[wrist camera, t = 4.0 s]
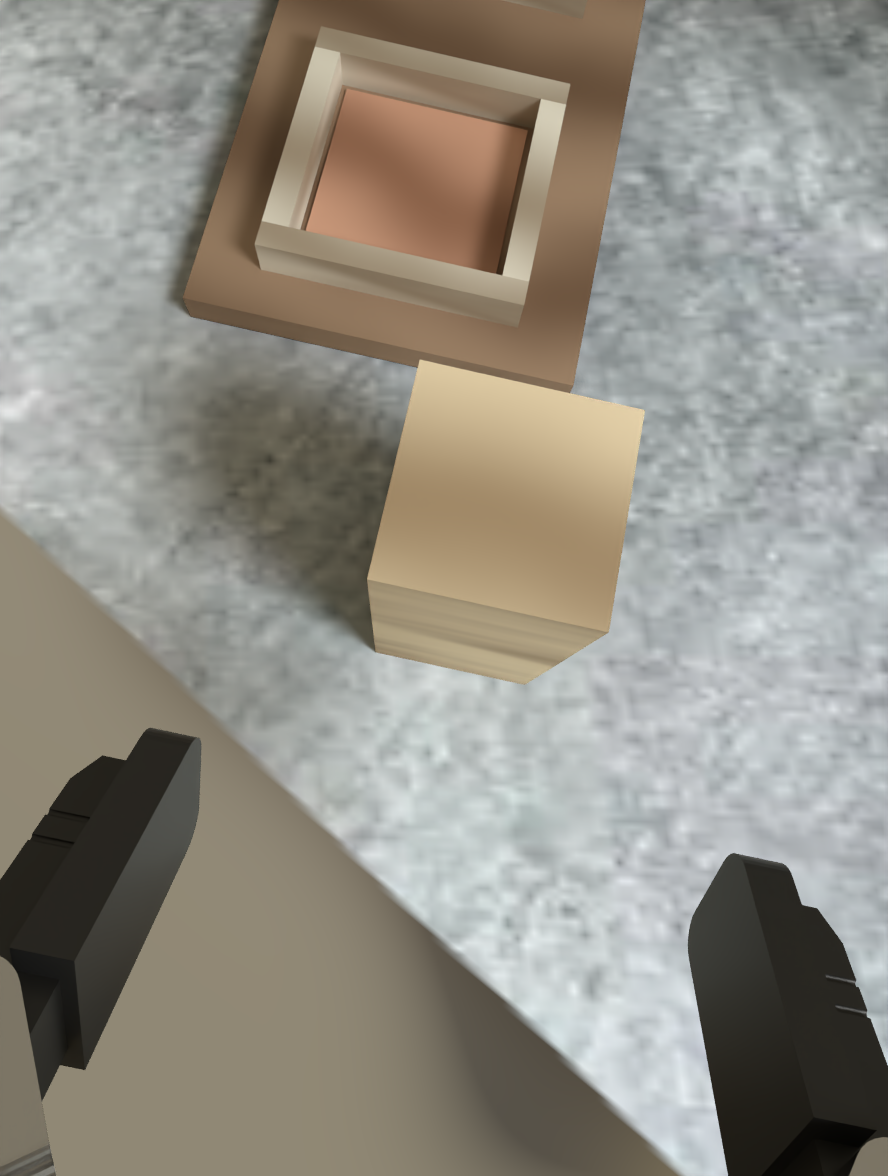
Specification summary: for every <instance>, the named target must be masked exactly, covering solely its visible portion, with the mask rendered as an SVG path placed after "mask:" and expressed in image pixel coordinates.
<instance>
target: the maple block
mask: <svg viewBox="0 0 888 1176" xmlns="http://www.w3.org/2000/svg"><path fill="white" fill-rule="evenodd" d="M644 413H645V410H642V409H637V408H633V407H628V406H624V405H619V404H615V403H611V402H606V401H602V400H597V399H593V398H588V397H584V396H579V395H575V394H571V393H566V392H562V391H557V390H553V389H548V388H544V387H540V386H535V385H531V384H526V383H522V382H517V381H513V380H508V379H504V378H500V377H495V376H491V375H486V374H482V373H477V372H473V371H469V370H464V369H460V368H455V367H451V366H446V365H442V364H437V363H433V362H429V361H424V360H419V365H418V369H417V373H416V377H415V381H414V385H413V390H412V394H411V398H410V402H409V406H408V410H407V415H406V419H405V423H404V427H403V431H402V436H401V440H400V444H399V448H398V452H397V456H396V461H395V465H394V469H393V473H392V477H391V481H390V486H389V490H388V494H387V498H386V502H385V506H384V511H383V515H382V519H381V523H380V527H379V531H378V536H377V540H376V544H375V548H374V552H373V556H372V561H371V565H370V569H369V573H368V577H367V583H368V592H369V600H370V609H371V617H372V626H373V634H374V643H375V651H376V652H377V653H382V654H386V655H391V656H396V657H400V658H405V659H409V660H414V661H418V662H423V663H428V664H432V665H437V666H441V667H446V668H450V669H455V670H460V671H464V672H469V673H473V674H478V675H483V676H487V677H492V678H496V679H501V680H505V681H510V682H515V683H519V684H524V685H525V684H527V683H528V682H530V681H532V680H533V679H535V678H536V677H538V676H540V675H541V674H543V673H544V672H546V671H548V670H549V669H551V668H552V667H554V666H556V665H557V664H559V663H560V662H562V661H564V660H565V659H567V658H568V657H570V656H572V655H573V654H575V653H576V652H578V651H580V650H581V649H583V648H584V647H586V646H588V645H589V644H591V643H592V642H594V641H596V640H597V639H599V638H600V637H602V636H604V635H605V634H607V633H608V632H609V627H610V621H611V615H612V609H613V603H614V596H615V590H616V584H617V578H618V572H619V566H620V560H621V554H622V547H623V541H624V535H625V529H626V523H627V517H628V511H629V504H630V498H631V492H632V486H633V480H634V474H635V468H636V462H637V455H638V449H639V443H640V437H641V431H642V425H643V419H644Z"/></svg>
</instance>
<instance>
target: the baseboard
mask: <svg viewBox="0 0 888 1176" xmlns="http://www.w3.org/2000/svg"><path fill="white" fill-rule="evenodd" d="M645 1H646V0H279V2H278V5H277V8H276V11H275V14H274V17H273V21H272V24H271V27H270V30H269V33H268V36H267V39H266V42H265V45H264V48H263V51H262V54H261V58H260V61H259V64H258V67H257V70H256V73H255V76H254V79H253V82H252V85H251V88H250V91H249V94H248V98H247V101H246V104H245V107H244V110H243V113H242V116H241V119H240V122H239V125H238V128H237V131H236V135H235V138H234V141H233V144H232V147H231V150H230V153H229V156H228V159H227V162H226V165H225V168H224V172H223V175H222V178H221V181H220V184H219V187H218V190H217V193H216V196H215V199H214V202H213V205H212V209H211V212H210V215H209V218H208V221H207V224H206V227H205V230H204V233H203V236H202V239H201V242H200V246H199V249H198V252H197V255H196V258H195V261H194V264H193V267H192V270H191V273H190V276H189V279H188V283H187V286H186V289H185V292H184V295H183V300H184V302H185V305H186V307H187V309H188V311H189V314H190V316H191V317H196V318H200V319H204V320H209V321H213V322H218V323H222V324H227V325H231V326H236V327H240V328H244V329H249V330H253V331H258V332H262V333H267V334H271V335H276V336H280V337H285V338H289V339H293V340H298V341H302V342H307V343H311V344H316V345H320V346H325V347H329V348H334V349H338V350H342V351H347V352H351V353H356V354H360V355H365V356H369V357H374V358H378V359H383V360H387V361H391V362H396V363H400V364H405V365H409V366H414V367H418V365H419V360H424V361H429V362H433V363H437V364H442V365H446V366H451V367H455V368H460V369H464V370H469V371H473V372H477V373H482V374H486V375H491V376H495V377H500V378H504V379H508V380H513V381H517V382H522V383H526V384H531V385H535V386H540V387H544V388H548V389H553V390H557V391H562V392H566V393H570V391H571V389H572V387H573V384H574V379H575V374H576V368H577V363H578V358H579V352H580V347H581V342H582V336H583V331H584V326H585V320H586V315H587V310H588V304H589V299H590V294H591V288H592V283H593V278H594V272H595V267H596V262H597V256H598V251H599V246H600V240H601V235H602V230H603V224H604V219H605V214H606V209H607V203H608V198H609V193H610V187H611V182H612V177H613V171H614V166H615V161H616V155H617V150H618V145H619V139H620V134H621V129H622V123H623V118H624V113H625V107H626V102H627V97H628V91H629V86H630V81H631V75H632V70H633V65H634V60H635V54H636V49H637V44H638V38H639V33H640V28H641V22H642V17H643V12H644V6H645Z"/></svg>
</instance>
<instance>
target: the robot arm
mask: <svg viewBox="0 0 888 1176" xmlns="http://www.w3.org/2000/svg"><path fill="white" fill-rule="evenodd" d="M200 767H201V741H200V739H199V738H196V737H192V736H187V735H182V734H178V733H172V732H168V731H163V730H158V729H153V728H148V729H147V730H146V731H145V732H144V733H143V734H142V736H141V737H140V739H139V740H138V742H137V744H136V745H135V747H134V748H133V750H132V752H131V753H130V755H129V756H128V758H127V760H121V759H116V758H111V757H106V756H101V757H100V758H98V759H97V760H96V761H94V762H93V763H91V764H90V765H89V766H87V767H86V768H84V769H83V770H82V771H80V772H79V773H77V774H76V775H75V776H73V777H72V778H70V780H69V781H68V783H67V784H66V786H65V787H64V789H63V790H62V791H61V793H60V794H59V796H58V797H57V798H56V800H55V801H54V803H53V804H52V806H51V807H50V810H49V813H48V815H45V816H44V817H43V819H42V820H41V822H40V823H39V825H38V826H37V828H36V829H35V831H34V832H33V834H32V838H31V839H30V840H28V841H27V842H26V843H25V845H24V846H23V848H22V849H21V851H20V852H19V854H18V855H17V857H16V858H15V860H14V861H13V862H12V864H11V865H10V867H9V868H8V870H7V871H6V873H5V874H4V875H3V877H2V878H1V880H0V1176H56V1174H55V1169H54V1164H53V1159H52V1155H51V1150H50V1144H49V1140H48V1134H47V1128H46V1123H45V1117H44V1112H43V1106H42V1100H43V1098H44V1096H45V1094H46V1092H47V1090H48V1088H49V1086H50V1084H51V1082H52V1080H53V1078H54V1076H55V1074H56V1072H57V1069H58V1068H59V1066H60V1065H63V1066H68V1067H73V1068H78V1069H83V1070H85V1069H86V1067H87V1064H88V1062H89V1060H90V1058H91V1056H92V1054H93V1052H94V1049H95V1047H96V1045H97V1043H98V1041H99V1039H100V1037H101V1034H102V1032H103V1030H104V1028H105V1026H106V1023H107V1022H108V1019H109V1017H110V1015H111V1013H112V1011H113V1009H114V1007H115V1004H116V1002H117V1000H118V998H119V996H120V994H121V991H122V989H123V987H124V985H125V983H126V981H127V979H128V976H129V974H130V972H131V970H132V968H133V966H134V964H135V961H136V959H137V957H138V955H139V953H140V951H141V949H142V946H143V944H144V942H145V940H146V938H147V936H148V934H149V931H150V929H151V927H152V925H153V923H154V920H155V918H156V916H157V914H158V912H159V910H160V908H161V905H162V903H163V901H164V899H165V897H166V895H167V893H168V891H169V889H170V886H171V884H172V882H173V880H174V878H175V875H176V873H177V871H178V869H179V867H180V865H181V863H182V861H183V859H184V856H185V854H186V852H187V850H188V847H189V845H190V842H191V839H192V837H193V833H194V830H195V826H196V822H197V816H198V811H199V794H200V792H199V791H200ZM688 954H689V961H690V967H691V972H692V978H693V983H694V989H695V994H696V1000H697V1005H698V1011H699V1016H700V1022H701V1027H702V1033H703V1039H704V1044H705V1050H706V1055H707V1061H708V1066H709V1072H710V1077H711V1083H712V1088H713V1094H714V1099H715V1105H716V1110H717V1116H718V1121H719V1127H720V1133H721V1138H722V1144H723V1149H724V1155H725V1160H726V1166H727V1171H728V1176H888V1065H887V1063H886V1060H885V1057H884V1055H883V1052H882V1049H881V1046H880V1044H879V1041H878V1038H877V1036H876V1033H875V1030H874V1027H873V1025H872V1022H871V1019H870V1018H867V1015H866V1013H867V1008H866V1006H865V1003H864V1000H863V997H862V995H861V992H860V989H859V987H856V985H855V982H856V978H855V976H854V973H853V970H852V967H851V965H850V962H849V959H848V957H847V954H846V951H845V948H844V946H843V943H842V942H841V940H840V939H839V938H838V936H837V935H836V934H835V932H834V931H833V929H832V928H831V927H830V925H829V924H828V923H827V921H826V920H825V919H824V917H823V916H822V914H821V913H820V912H819V910H818V909H817V908H813V907H808V906H803V905H802V904H801V901H800V898H799V895H798V892H797V889H796V886H795V883H794V880H793V877H792V875H791V872H790V870H789V869H788V868H787V866H786V865H784V864H782V863H778V862H773V861H768V860H764V859H759V858H754V857H749V856H745V855H740V854H735V853H733V854H730V855H729V856H728V857H727V858H726V859H725V861H724V862H723V864H722V866H721V867H720V869H719V871H718V873H717V874H716V876H715V878H714V880H713V881H712V883H711V885H710V887H709V888H708V890H707V892H706V893H705V895H704V897H703V899H702V900H701V902H700V904H699V906H698V907H697V909H696V911H695V913H694V915H693V917H692V920H691V924H690V929H689V936H688Z"/></svg>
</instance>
